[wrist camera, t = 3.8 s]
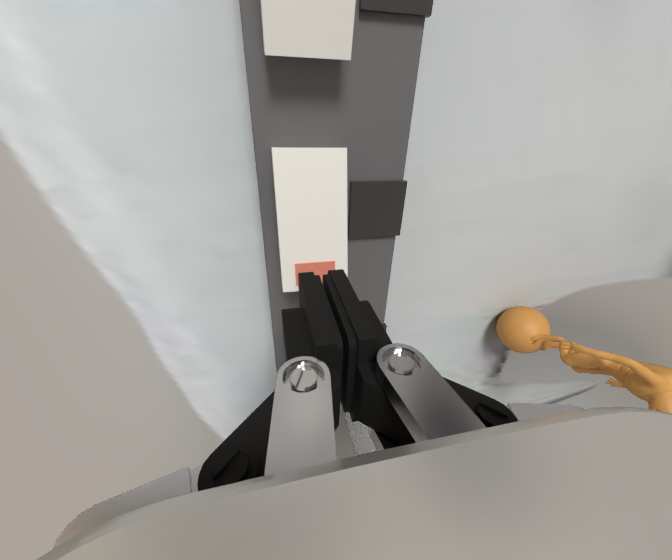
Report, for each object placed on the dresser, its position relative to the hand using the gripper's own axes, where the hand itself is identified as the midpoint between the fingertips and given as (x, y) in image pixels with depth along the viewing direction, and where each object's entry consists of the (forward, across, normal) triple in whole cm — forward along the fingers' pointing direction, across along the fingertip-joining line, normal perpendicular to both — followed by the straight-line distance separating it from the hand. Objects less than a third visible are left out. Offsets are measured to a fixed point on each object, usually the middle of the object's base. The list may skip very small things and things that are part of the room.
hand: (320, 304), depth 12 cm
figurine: (+9, -20, +9) cm, 23 cm away
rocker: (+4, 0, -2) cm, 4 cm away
